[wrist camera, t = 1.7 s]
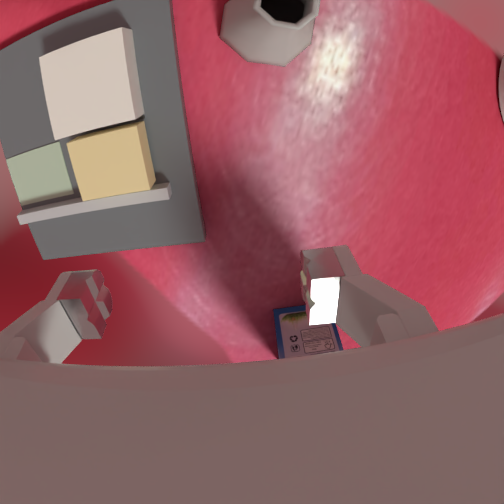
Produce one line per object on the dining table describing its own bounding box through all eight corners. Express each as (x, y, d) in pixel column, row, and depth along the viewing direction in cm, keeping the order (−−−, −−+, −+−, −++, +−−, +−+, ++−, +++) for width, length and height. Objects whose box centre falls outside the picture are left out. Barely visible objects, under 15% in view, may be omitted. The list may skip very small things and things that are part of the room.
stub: (144, 120, 22) (136, 126, 20) (156, 180, 25) (150, 189, 23) (77, 136, 22) (66, 143, 20) (91, 191, 25) (82, 201, 23)
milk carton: (273, 308, 35) (295, 488, 19) (328, 300, 35) (376, 472, 18) (279, 361, 41) (296, 507, 24) (325, 354, 41) (356, 496, 24)
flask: (245, -31, 17) (251, -80, 8) (330, 9, 19) (383, -14, 10) (203, 44, 20) (182, 32, 12) (289, 81, 22) (320, 94, 14)
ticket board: (170, -11, 17) (160, -21, 14) (206, 234, 30) (202, 257, 27) (-7, 58, 17) (-31, 62, 14) (48, 253, 30) (33, 273, 27)
